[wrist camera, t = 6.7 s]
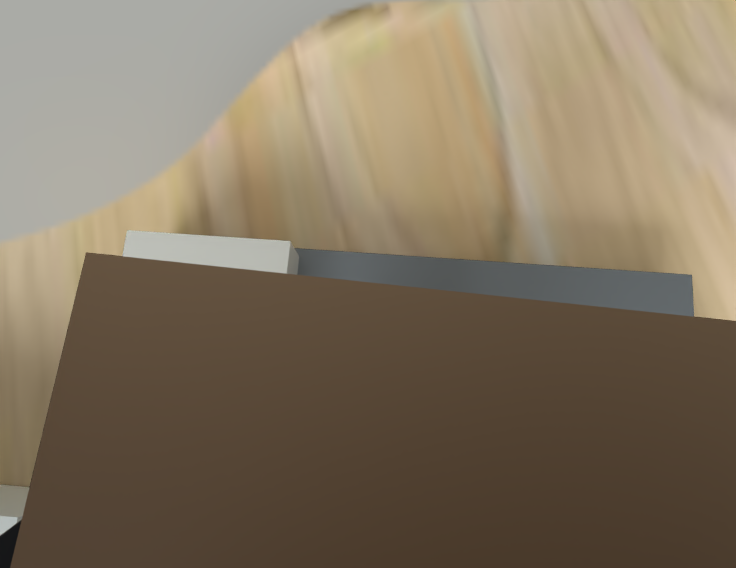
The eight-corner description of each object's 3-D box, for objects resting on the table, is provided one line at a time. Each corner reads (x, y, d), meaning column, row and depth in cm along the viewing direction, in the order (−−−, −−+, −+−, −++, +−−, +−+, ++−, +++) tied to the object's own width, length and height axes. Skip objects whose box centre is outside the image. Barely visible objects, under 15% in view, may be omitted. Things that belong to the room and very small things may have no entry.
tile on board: (281, 413, 15) (269, 412, 14) (122, 400, 16) (95, 398, 14) (299, 256, 16) (290, 241, 15) (149, 246, 17) (127, 230, 15)
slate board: (685, 733, 15) (718, 767, 13) (91, 667, 16) (60, 693, 14) (666, 286, 17) (692, 274, 16) (162, 252, 18) (143, 237, 17)
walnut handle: (465, 561, 14) (994, 1568, 2) (311, 541, 15) (-166, 1296, 2) (476, 403, 15) (885, 338, 3) (332, 386, 16) (87, 251, 3)
